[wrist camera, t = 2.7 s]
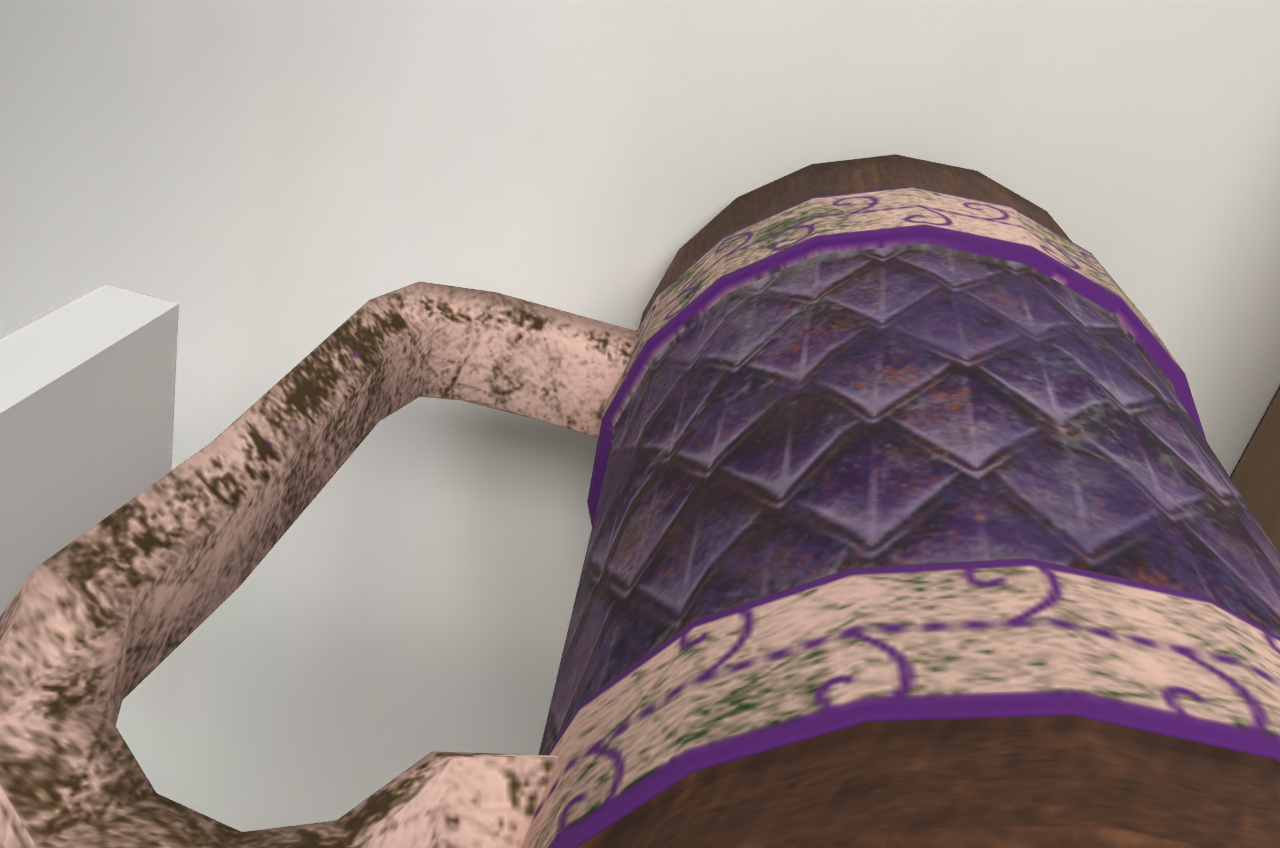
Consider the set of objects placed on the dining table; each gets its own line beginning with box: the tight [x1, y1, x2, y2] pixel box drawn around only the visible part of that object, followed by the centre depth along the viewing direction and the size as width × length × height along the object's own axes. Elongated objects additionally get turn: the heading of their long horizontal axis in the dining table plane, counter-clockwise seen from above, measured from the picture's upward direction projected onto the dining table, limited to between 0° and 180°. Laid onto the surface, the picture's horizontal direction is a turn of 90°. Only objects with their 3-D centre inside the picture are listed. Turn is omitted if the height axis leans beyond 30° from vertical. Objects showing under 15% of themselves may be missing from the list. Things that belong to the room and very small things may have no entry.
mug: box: [0, 155, 1280, 848], centre depth 11 cm, size 10×7×12 cm
